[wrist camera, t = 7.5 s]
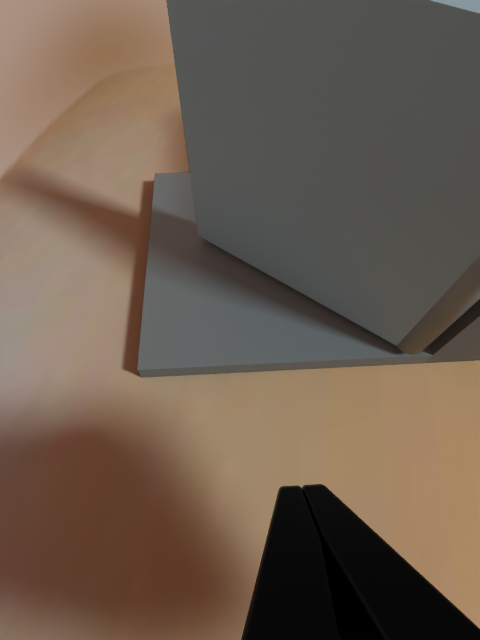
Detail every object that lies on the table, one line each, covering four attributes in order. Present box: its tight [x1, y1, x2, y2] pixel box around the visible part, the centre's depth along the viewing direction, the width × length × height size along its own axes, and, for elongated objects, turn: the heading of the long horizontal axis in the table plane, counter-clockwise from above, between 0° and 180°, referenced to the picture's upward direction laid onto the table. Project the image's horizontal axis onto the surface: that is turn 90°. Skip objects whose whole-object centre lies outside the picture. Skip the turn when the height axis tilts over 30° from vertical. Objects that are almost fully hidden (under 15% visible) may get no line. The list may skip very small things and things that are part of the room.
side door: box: [167, 0, 480, 355], centre depth 11 cm, size 1×11×10 cm, turn 55°
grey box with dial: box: [137, 172, 480, 377], centre depth 13 cm, size 14×19×11 cm
